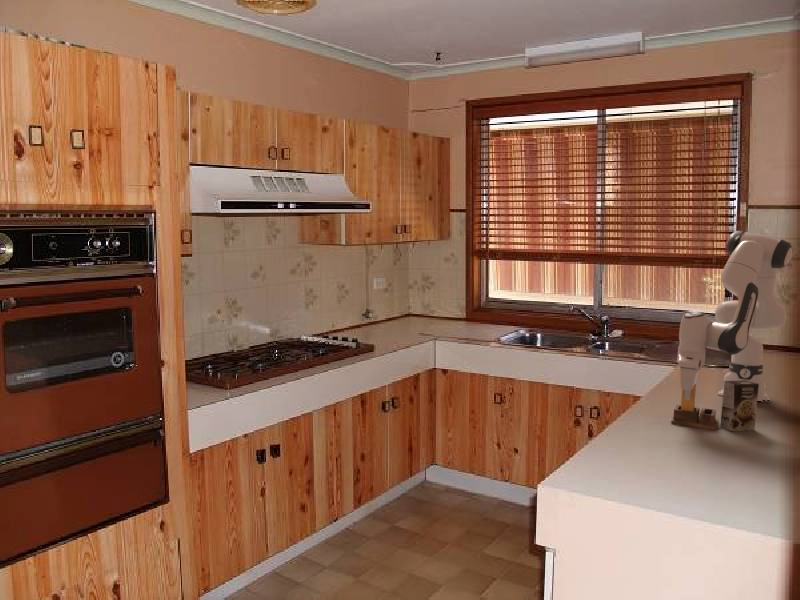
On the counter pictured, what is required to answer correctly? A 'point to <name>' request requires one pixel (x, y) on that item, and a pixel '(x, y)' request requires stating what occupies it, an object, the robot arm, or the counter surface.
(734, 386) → the coffee box
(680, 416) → the socket holder
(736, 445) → the counter surface
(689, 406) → the square peg
